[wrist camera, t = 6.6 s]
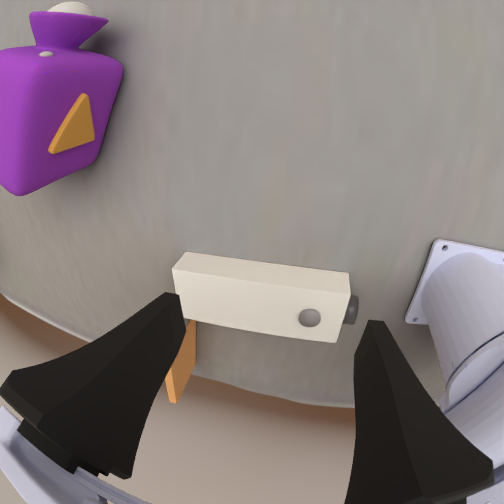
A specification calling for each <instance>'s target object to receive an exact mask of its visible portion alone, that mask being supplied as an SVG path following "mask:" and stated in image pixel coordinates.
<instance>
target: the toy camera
mask: <svg viewBox="0 0 504 504" xmlns="http://www.w3.org/2000/svg"><path fill="white" fill-rule="evenodd" d="M29 18H30V24H31V28H32V31H33V34H34V37H35V41H36V46H26V47H15V48H8V49H4V50H1V51H0V184H1V185H2V186H3V187H4V188H5V189H6V190H7V191H9V192H10V193H12V194H14V195H16V196H24V195H27V194H29V193H32V192H34V191H36V190H38V189H40V188H42V187H44V186H46V185H48V184H50V183H52V182H54V181H56V180H58V179H60V178H63V177H65V176H67V175H69V174H71V173H74V172H76V171H78V170H80V169H82V168H85V167H86V166H88V165H90V164H91V163H93V162H94V161H95V159H96V158H97V156H98V153H99V150H100V147H101V144H102V140H103V136H104V133H105V129H106V126H107V122H108V119H109V116H110V113H111V109H112V106H113V103H114V100H115V97H116V94H117V91H118V89H119V86H120V82H121V79H122V75H123V66H122V64H121V63H120V62H118V61H117V60H115V59H113V58H111V57H109V56H106V55H102V54H99V53H95V52H92V51H88V50H83V49H79V48H78V47H79V46H80V45H81V44H82V43H83V42H85V41H86V40H87V39H88V38H90V37H91V36H92V35H93V34H95V33H96V32H97V31H99V30H100V29H101V28H102V27H103V26H104V25H106V24H107V22H108V20H107V19H105V18H101V17H96V16H93V13H92V11H91V10H90V8H89V7H88V6H86V5H85V4H83V3H79V2H65V3H61V4H58V5H56V6H54V7H52V8H51V9H50V10H48V11H41V12H32V13H30V15H29Z"/></svg>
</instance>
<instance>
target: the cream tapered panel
mask: <svg viewBox="0 0 504 504" xmlns="http://www.w3.org/2000/svg"><path fill="white" fill-rule="evenodd" d="M172 273H173V279H174V284H175V290H176V294H178V295H179V297H180V302H181V307H182V312H183V317H184V318H187V319H192V320H196V321H201V322H206V323H210V324H215V325H220V326H225V327H231V328H236V329H242V330H247V331H253V332H259V333H265V334H271V335H278V336H284V337H291V338H298V339H306V340H314V341H322V342H331V343H336V341H337V338H338V335H339V332H340V329H341V326H342V324H351V325H353V324H354V323H355V321H356V318H357V313H358V297H357V296H350V295H351V292H350V283H349V274H348V273H344V272H336V271H328V270H320V269H312V268H304V267H297V266H289V265H281V264H274V263H266V262H258V261H251V260H243V259H236V258H229V257H221V256H214V255H207V254H199V253H192V252H185V253H184V254H183V256H182V257H181V258H180V259H179V261H178V262H177V263H176V264H175V265H174V267H173V268H172Z"/></svg>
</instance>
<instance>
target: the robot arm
mask: <svg viewBox="0 0 504 504" xmlns="http://www.w3.org/2000/svg"><path fill="white" fill-rule="evenodd" d="M444 245H446V247H445V248H444V249H442V247H443V246H444ZM414 318H415V319H414ZM405 321H406V323H411V324H426V325H428V326H429V329H430V332H431V335H432V338H433V342H434V345H435V348H436V352H437V355H438V359H439V362H440V366H441V370H442V374H443V378H444V382H445V387H446V392H445V393H444V395H443V396H442V397H440V398H439V402H440V408H441V410H440V409H439V408H438V406H437V405H436V404H435V402H434V401H433V400H432V398H431V397H430V396H429V394H428V393H427V392H426V390H425V389H424V387H423V386H422V384H421V383H420V381H419V380H418V378H417V377H416V375H415V373H414V372H413V370H412V368H411V367H410V365H409V363H408V362H407V360H406V359H405V357H404V355H403V353H402V352H401V350H400V348H399V347H398V345H397V343H396V341H395V340H394V338H393V336H392V334H391V333H390V331H389V329H388V327H387V326H386V324H385V322H384V321H377V320H368V322H367V325H366V328H365V330H364V333H363V335H362V338H361V340H360V343H359V345H358V348H357V350H356V352H355V355H354V377H353V380H354V397H355V415H356V416H355V417H356V439H355V449H354V457H353V464H352V470H351V476H350V482H349V487H348V491H347V495H346V499H345V503H344V504H504V252H503V251H498V250H494V249H489V248H484V247H479V246H474V245H469V244H464V243H458V242H453V241H448V240H442V239H437V240H435V241H434V243H433V245H432V248H431V251H430V254H429V257H428V260H427V263H426V265H425V268H424V271H423V274H422V276H421V279H420V282H419V284H418V287H417V289H416V292H415V294H414V297H413V299H412V301H411V304H410V306H409V308H408V311H407V313H406V315H405ZM185 334H186V326H185V321H184V317H183V312H182V307H181V302H180V297H179V295H178V294H173V293H168V292H165V293H163V294H162V295H160V296H159V297H158V298H156V299H155V300H153V301H152V302H151V303H149V304H148V305H147V306H145V307H144V308H143V309H141V310H140V311H138V312H137V313H136V314H134V315H133V316H131V317H130V318H129V319H127V320H126V321H124V322H123V323H121V324H120V325H118V326H117V327H115V328H114V329H112V330H111V331H109V332H108V333H106V334H105V335H103V336H101V337H100V338H98V339H96V340H95V341H93V342H91V343H89V344H87V345H85V346H83V347H81V348H79V349H77V350H75V351H73V352H71V353H68V354H66V355H64V356H61V357H59V358H57V359H54V360H51V361H48V362H45V363H42V364H39V365H35V366H31V367H27V368H23V369H18V370H13V371H12V372H11V373H10V375H9V376H8V377H7V379H6V380H5V382H4V383H3V384H2V386H1V387H0V395H1V397H2V398H3V399H4V400H5V401H6V402H7V403H8V404H9V405H10V406H11V407H13V409H15V411H17V412H18V413H19V414H20V415H21V416H22V417H23V418H24V419H23V421H22V422H21V421H20V420H19V419H17V418H16V417H15V416H14V415H13V414H12V413H11V412H10V411H9V410H8V409H7V408H6V407H5V406H2V407H1V408H0V468H1V470H2V471H3V472H4V474H5V475H6V477H7V478H8V479H9V481H10V482H11V484H12V485H13V486H14V488H15V489H16V490H17V491H18V493H19V494H20V495H21V496H22V498H23V499H24V500H25V501H26V503H27V504H108V503H107V500H109V501H111V502H113V503H115V504H150V503H148V502H146V501H143V500H141V499H139V498H137V497H134V496H132V495H130V494H128V493H126V492H124V491H122V490H120V489H118V488H116V487H114V486H112V485H110V484H108V483H106V482H105V481H103V480H101V479H99V478H98V474H99V473H101V474H103V475H105V476H108V475H109V473H112V474H114V475H115V476H117V477H119V478H122V479H128V478H130V477H131V476H132V470H133V465H134V461H135V456H136V452H137V449H138V445H139V441H140V438H141V435H142V431H143V428H144V425H145V422H146V419H147V416H148V414H149V411H150V409H151V406H152V403H153V401H154V399H155V397H156V394H157V392H158V390H159V388H160V387H161V385H162V383H163V381H164V379H165V377H166V375H167V374H168V372H169V370H170V368H171V366H172V364H173V362H174V360H175V358H176V356H177V354H178V353H179V350H180V347H181V345H182V342H183V339H184V337H185Z"/></svg>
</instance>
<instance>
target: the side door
mask: <svg viewBox="0 0 504 504" xmlns="http://www.w3.org/2000/svg"><path fill="white" fill-rule="evenodd" d="M184 321H185V326H186V334H185V337H184V339H183V342H182V345H181V347H180V350H179V353H178V354H177V356H176V358H175V360H174V362H173V364H172V366H171V368H170V370H169V372H168V374H167V375H166V377H165V380H166V386H167V390H168V396H169V401H170V402H172V403H175V404H177V402H178V400H179V398H180V396H181V393H182V391H183V389H184V387H185V385H186V383H187V381H188V378H189V376H190V374H191V372H192V370H193V368H194V366H195V364H196V320H192V319H187V318H184Z"/></svg>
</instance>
